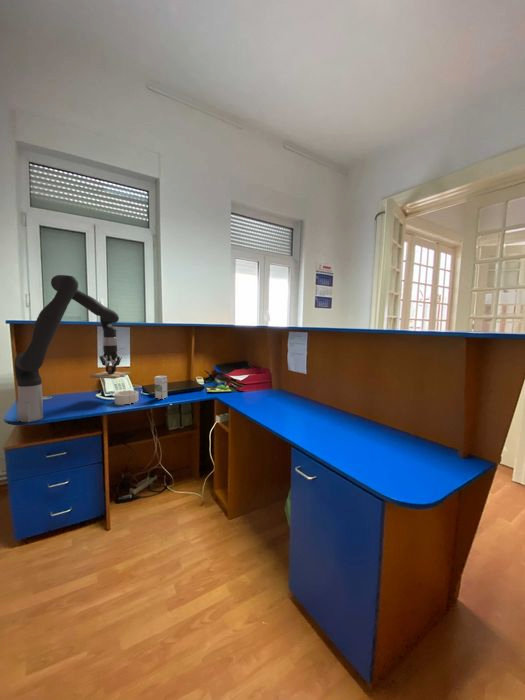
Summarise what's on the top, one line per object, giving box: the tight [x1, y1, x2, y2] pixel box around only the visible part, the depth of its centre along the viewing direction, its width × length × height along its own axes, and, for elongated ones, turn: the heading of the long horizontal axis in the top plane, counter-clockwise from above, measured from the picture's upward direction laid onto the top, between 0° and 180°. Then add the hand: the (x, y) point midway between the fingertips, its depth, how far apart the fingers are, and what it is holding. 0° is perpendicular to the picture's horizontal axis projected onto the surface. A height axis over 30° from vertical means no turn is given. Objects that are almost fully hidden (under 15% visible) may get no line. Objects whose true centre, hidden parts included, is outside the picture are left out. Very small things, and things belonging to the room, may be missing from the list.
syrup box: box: [154, 375, 168, 400], centre depth 187 cm, size 6×6×14 cm
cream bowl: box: [113, 389, 140, 406], centre depth 178 cm, size 13×13×6 cm
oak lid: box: [89, 364, 131, 380], centre depth 181 cm, size 16×16×6 cm
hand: (110, 372), depth 181 cm, fingers closed on oak lid, 3 cm apart
